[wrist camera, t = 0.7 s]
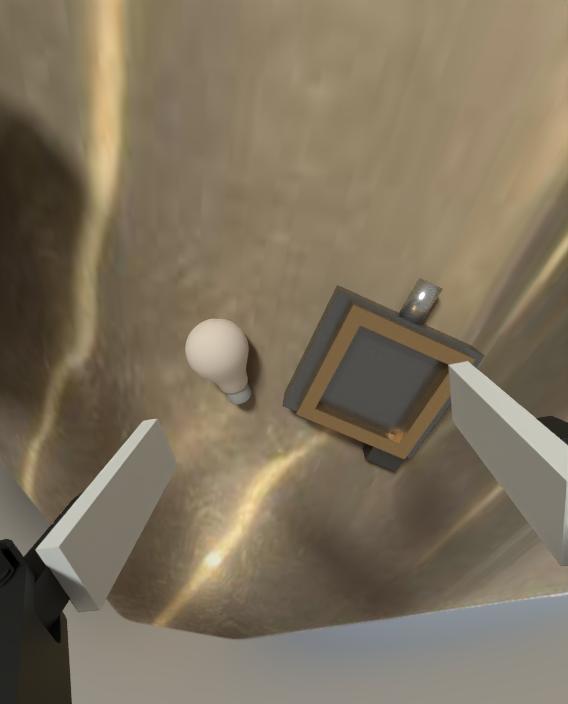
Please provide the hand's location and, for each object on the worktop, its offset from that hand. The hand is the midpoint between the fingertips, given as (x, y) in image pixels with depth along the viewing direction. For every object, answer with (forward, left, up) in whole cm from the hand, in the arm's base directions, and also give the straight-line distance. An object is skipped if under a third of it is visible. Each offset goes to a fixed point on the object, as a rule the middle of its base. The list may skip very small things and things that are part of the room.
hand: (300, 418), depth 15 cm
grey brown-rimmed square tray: (+10, -4, -22) cm, 25 cm away
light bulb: (-6, -9, -23) cm, 25 cm away
